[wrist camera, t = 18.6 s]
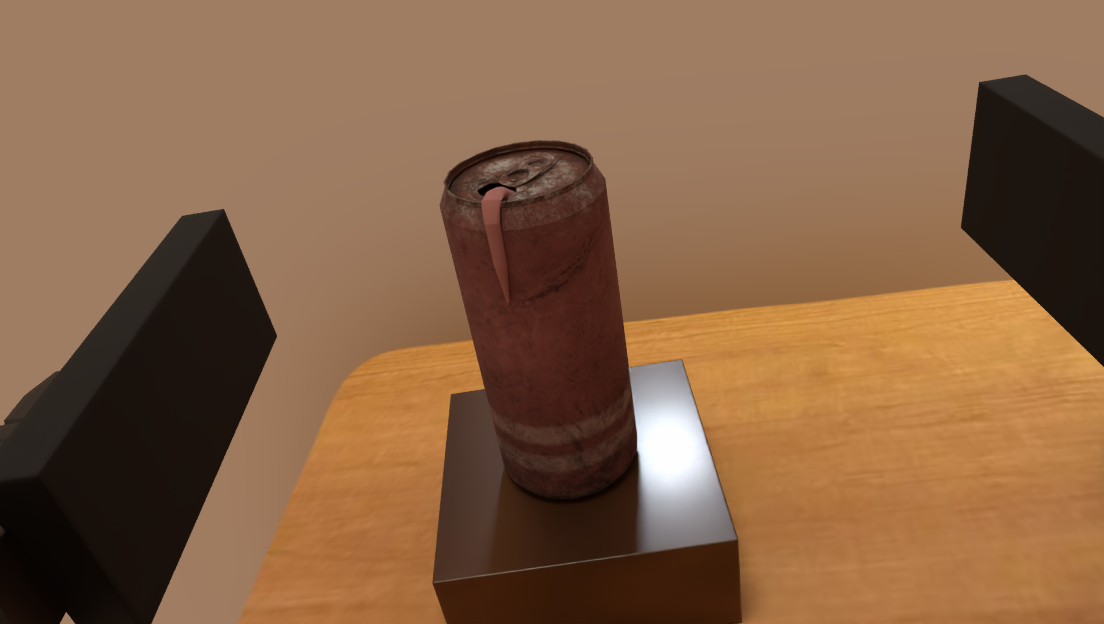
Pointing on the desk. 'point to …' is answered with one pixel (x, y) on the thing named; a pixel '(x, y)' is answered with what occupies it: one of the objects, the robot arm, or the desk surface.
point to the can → (544, 312)
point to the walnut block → (590, 526)
